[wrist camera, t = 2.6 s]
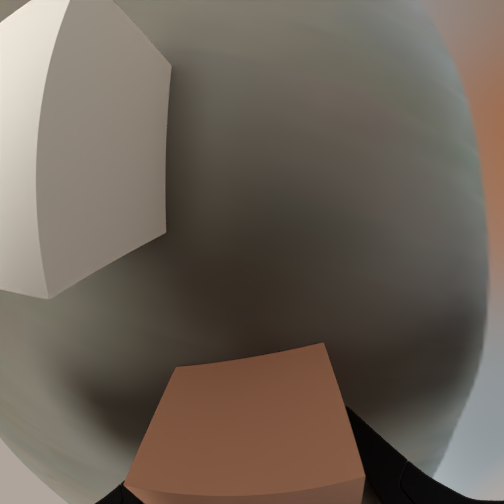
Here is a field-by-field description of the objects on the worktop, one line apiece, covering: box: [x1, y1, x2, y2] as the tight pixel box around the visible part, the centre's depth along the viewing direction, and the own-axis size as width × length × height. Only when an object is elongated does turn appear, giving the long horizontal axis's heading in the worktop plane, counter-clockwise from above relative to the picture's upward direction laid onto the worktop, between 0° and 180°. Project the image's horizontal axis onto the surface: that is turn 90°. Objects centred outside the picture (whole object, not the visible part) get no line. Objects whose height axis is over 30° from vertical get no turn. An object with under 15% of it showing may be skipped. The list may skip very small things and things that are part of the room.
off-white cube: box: [0, 0, 172, 300], centre depth 5 cm, size 5×5×5 cm
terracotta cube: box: [123, 342, 365, 504], centre depth 7 cm, size 5×5×5 cm
